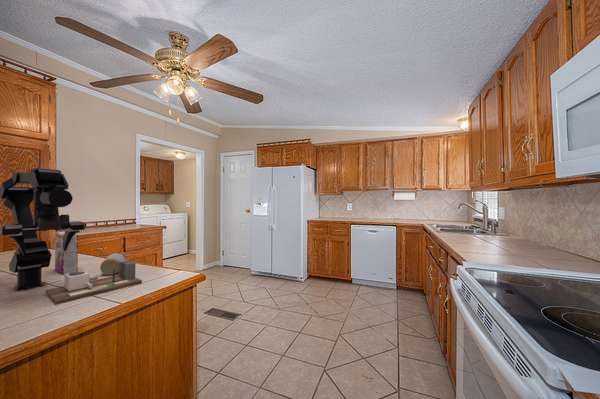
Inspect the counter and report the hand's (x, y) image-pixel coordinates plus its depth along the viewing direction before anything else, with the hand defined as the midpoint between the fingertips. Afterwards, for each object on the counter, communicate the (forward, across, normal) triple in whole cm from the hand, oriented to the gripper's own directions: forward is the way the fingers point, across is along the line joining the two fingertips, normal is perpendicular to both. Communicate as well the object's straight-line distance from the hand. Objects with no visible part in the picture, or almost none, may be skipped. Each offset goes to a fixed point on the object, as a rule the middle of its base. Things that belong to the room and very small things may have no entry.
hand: (45, 253), depth 80 cm
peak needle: (+11, +15, -12) cm, 22 cm away
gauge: (+12, +8, -8) cm, 16 cm away
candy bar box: (+13, +10, +26) cm, 31 cm away
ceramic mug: (+13, +22, +8) cm, 27 cm away
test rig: (+13, +12, -8) cm, 19 cm away
